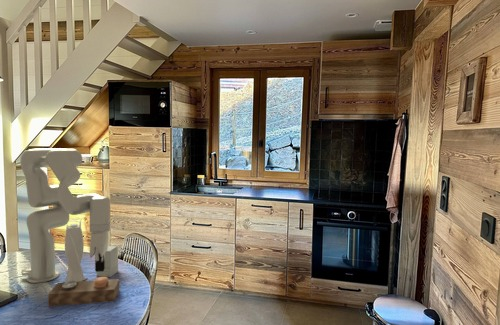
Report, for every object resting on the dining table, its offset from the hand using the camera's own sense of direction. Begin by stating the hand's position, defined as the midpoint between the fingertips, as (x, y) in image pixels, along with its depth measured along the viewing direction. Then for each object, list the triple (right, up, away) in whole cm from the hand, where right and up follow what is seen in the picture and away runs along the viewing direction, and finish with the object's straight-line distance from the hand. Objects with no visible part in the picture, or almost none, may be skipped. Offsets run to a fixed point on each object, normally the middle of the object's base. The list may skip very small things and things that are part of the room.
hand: (99, 270), depth 133 cm
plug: (-11, -11, -2) cm, 16 cm away
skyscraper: (-18, -10, +14) cm, 25 cm away
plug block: (-5, -11, -1) cm, 12 cm away
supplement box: (-7, -9, +23) cm, 26 cm away
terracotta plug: (0, -10, 0) cm, 10 cm away
